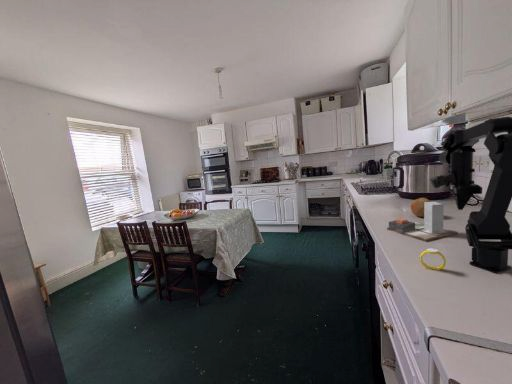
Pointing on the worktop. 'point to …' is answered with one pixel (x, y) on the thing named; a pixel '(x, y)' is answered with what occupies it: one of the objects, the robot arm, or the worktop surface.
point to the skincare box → (433, 217)
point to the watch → (433, 251)
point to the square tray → (417, 231)
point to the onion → (418, 206)
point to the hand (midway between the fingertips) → (460, 209)
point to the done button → (401, 221)
